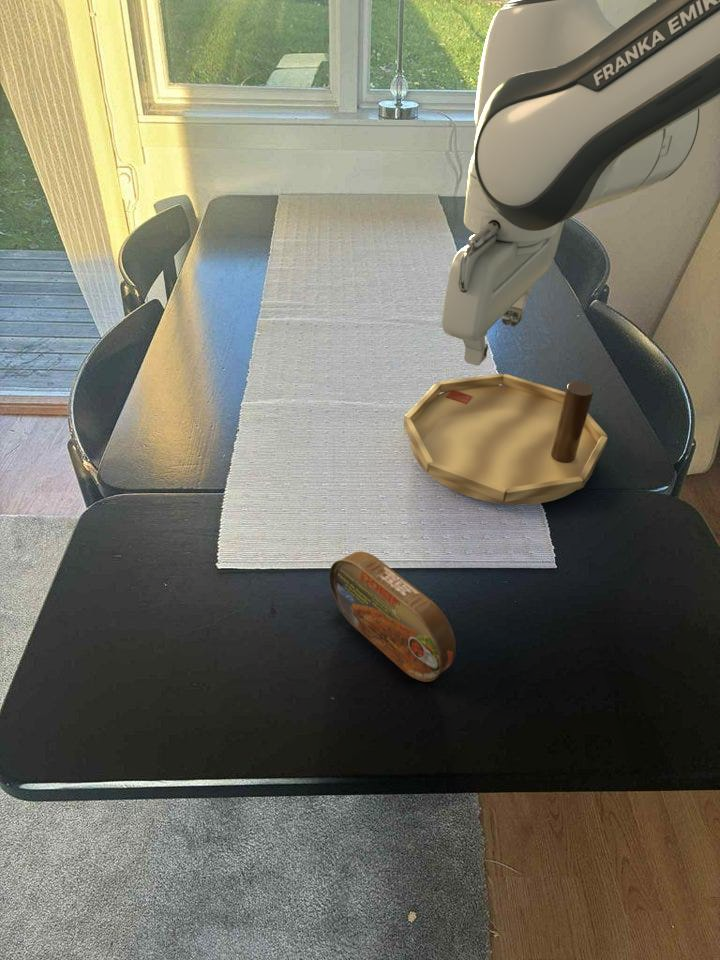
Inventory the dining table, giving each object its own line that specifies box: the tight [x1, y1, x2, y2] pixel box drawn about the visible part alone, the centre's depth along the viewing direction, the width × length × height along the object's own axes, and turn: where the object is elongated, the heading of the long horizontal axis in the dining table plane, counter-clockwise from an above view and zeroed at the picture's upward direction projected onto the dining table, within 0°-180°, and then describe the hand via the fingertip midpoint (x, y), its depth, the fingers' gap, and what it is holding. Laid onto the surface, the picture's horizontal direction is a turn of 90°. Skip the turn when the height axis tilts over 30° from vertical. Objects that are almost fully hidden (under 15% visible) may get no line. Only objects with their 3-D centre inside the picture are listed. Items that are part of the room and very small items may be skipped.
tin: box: [328, 550, 457, 683], centre depth 66 cm, size 15×3×8 cm, turn 42°
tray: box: [403, 373, 609, 506], centre depth 88 cm, size 24×24×11 cm
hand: (493, 341), depth 73 cm, fingers open, 8 cm apart
